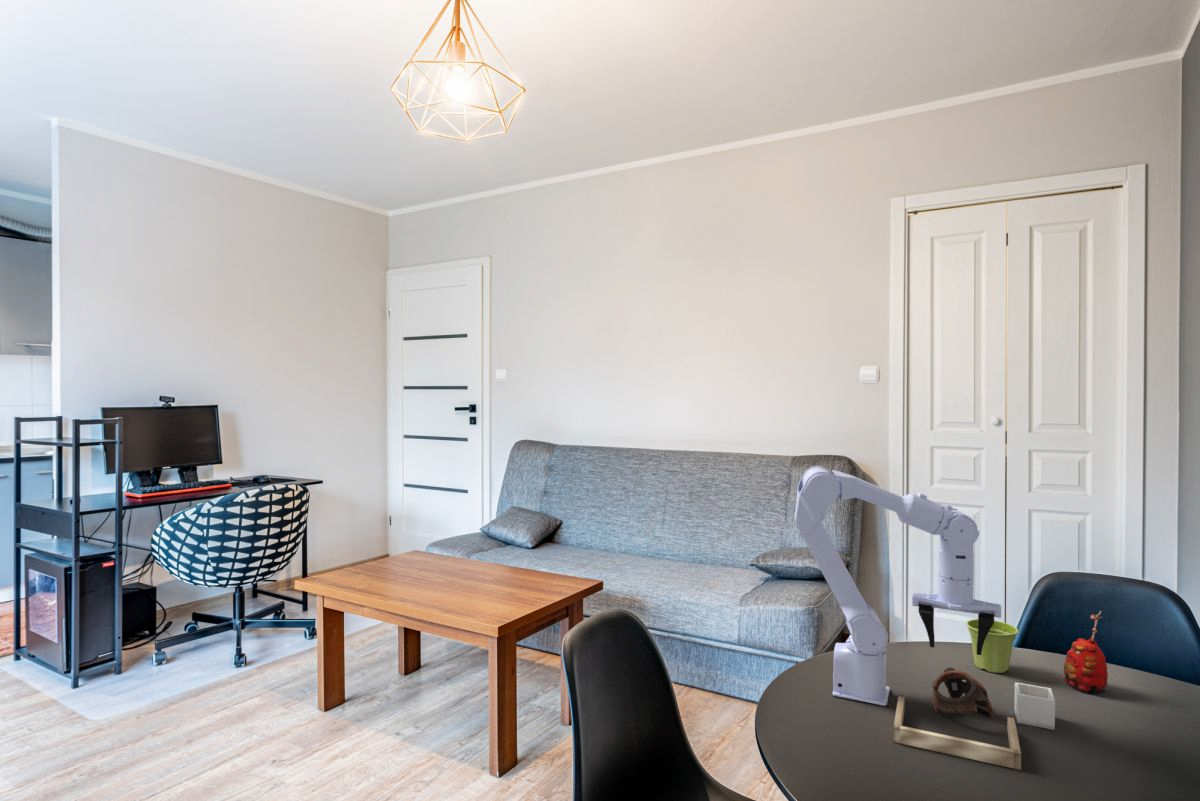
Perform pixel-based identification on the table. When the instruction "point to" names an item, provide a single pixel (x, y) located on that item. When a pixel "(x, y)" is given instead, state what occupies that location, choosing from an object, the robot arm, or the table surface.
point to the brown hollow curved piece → (960, 693)
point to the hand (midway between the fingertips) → (955, 649)
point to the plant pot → (993, 646)
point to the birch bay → (959, 742)
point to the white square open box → (1034, 706)
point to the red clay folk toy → (1086, 664)
